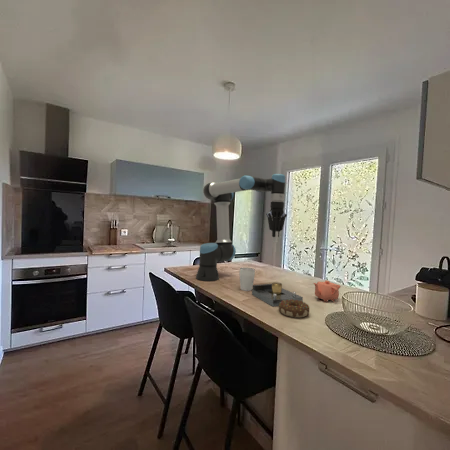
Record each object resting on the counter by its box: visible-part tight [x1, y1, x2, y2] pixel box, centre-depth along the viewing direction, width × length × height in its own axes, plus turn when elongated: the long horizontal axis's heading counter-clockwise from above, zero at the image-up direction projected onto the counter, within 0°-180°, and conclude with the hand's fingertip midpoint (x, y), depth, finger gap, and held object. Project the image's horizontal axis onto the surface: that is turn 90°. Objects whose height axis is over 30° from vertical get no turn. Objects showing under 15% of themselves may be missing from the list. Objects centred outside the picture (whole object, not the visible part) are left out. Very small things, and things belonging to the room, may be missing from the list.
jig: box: [251, 283, 304, 308], centre depth 141 cm, size 20×18×5 cm
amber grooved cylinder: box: [271, 282, 283, 295], centre depth 140 cm, size 5×5×8 cm
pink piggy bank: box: [312, 280, 341, 303], centre depth 143 cm, size 14×12×10 cm
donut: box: [278, 299, 310, 318], centre depth 121 cm, size 14×14×5 cm
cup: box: [238, 267, 256, 292], centre depth 156 cm, size 9×9×12 cm
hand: (275, 242), depth 153 cm, fingers closed
